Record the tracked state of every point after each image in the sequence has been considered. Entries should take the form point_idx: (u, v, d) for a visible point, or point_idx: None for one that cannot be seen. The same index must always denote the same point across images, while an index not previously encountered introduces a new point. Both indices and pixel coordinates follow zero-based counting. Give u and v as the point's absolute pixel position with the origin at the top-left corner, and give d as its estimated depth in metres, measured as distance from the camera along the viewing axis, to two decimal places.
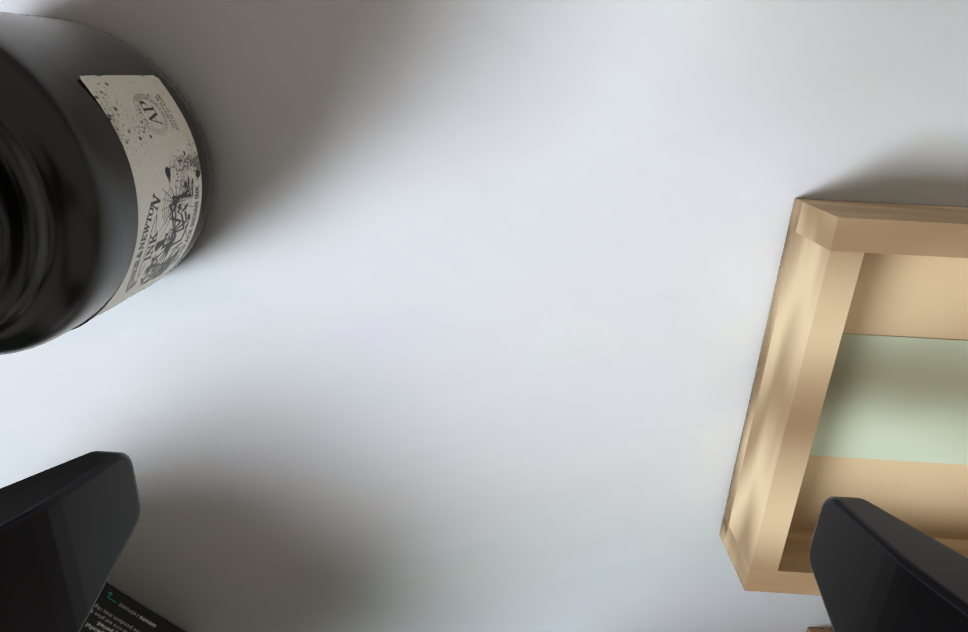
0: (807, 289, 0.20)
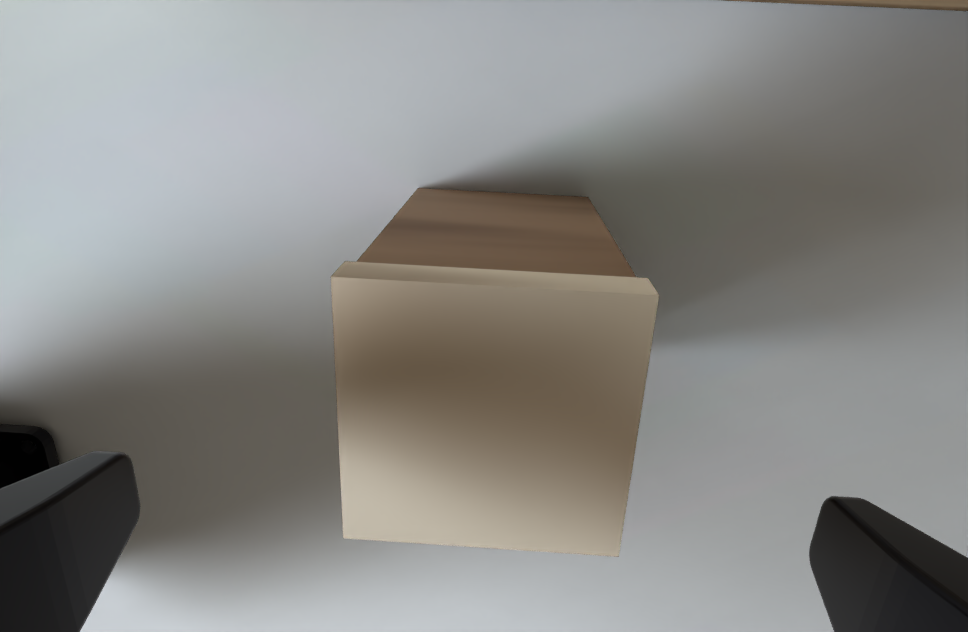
0: None
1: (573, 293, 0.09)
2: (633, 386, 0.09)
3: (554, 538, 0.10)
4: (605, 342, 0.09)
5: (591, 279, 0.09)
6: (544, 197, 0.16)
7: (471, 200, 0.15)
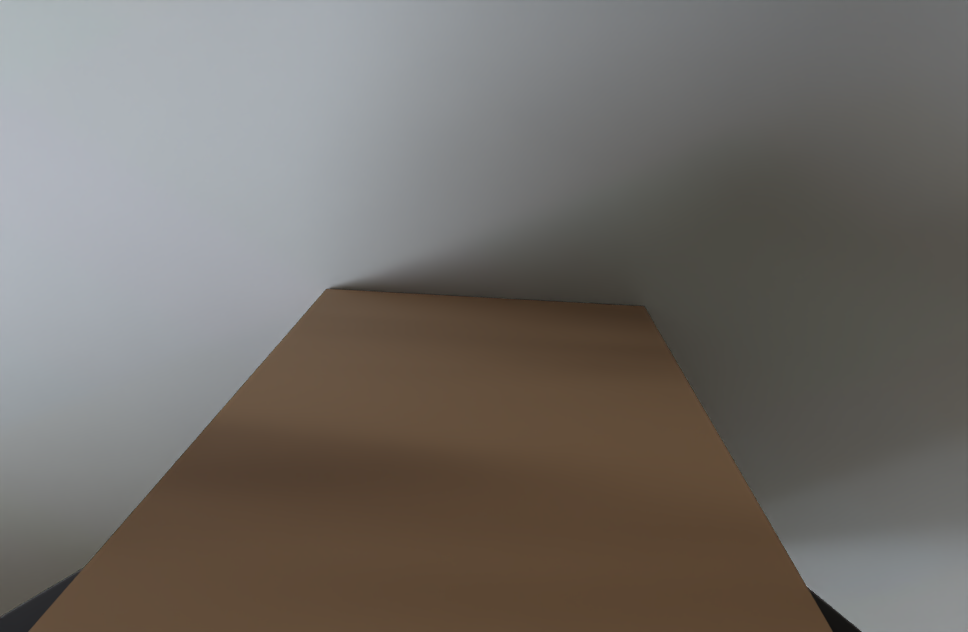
0: None
1: None
2: None
3: None
4: None
5: None
6: (563, 311, 0.08)
7: (419, 329, 0.08)
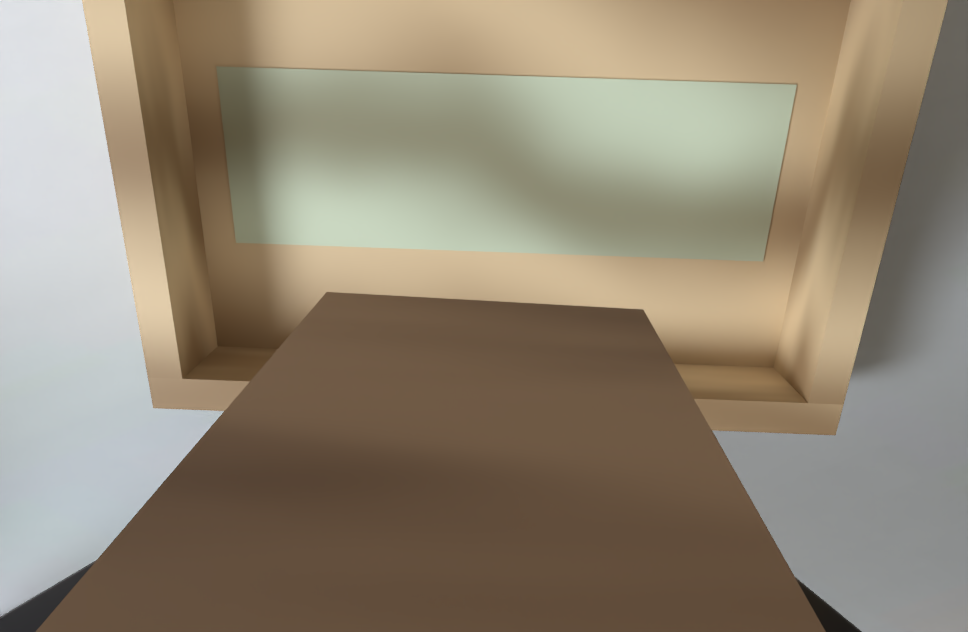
0: None
1: None
2: None
3: None
4: None
5: None
6: (562, 314, 0.08)
7: (418, 332, 0.08)
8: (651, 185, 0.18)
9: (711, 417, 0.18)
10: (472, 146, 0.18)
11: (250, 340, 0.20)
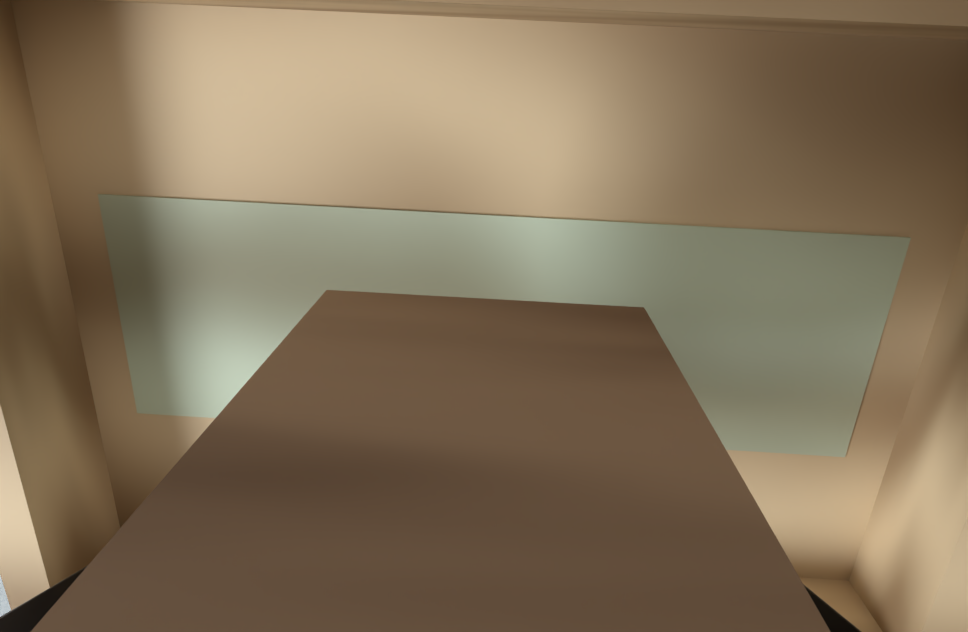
0: None
1: None
2: None
3: None
4: None
5: None
6: (563, 312, 0.08)
7: (419, 330, 0.08)
8: (698, 358, 0.13)
9: None
10: None
11: None
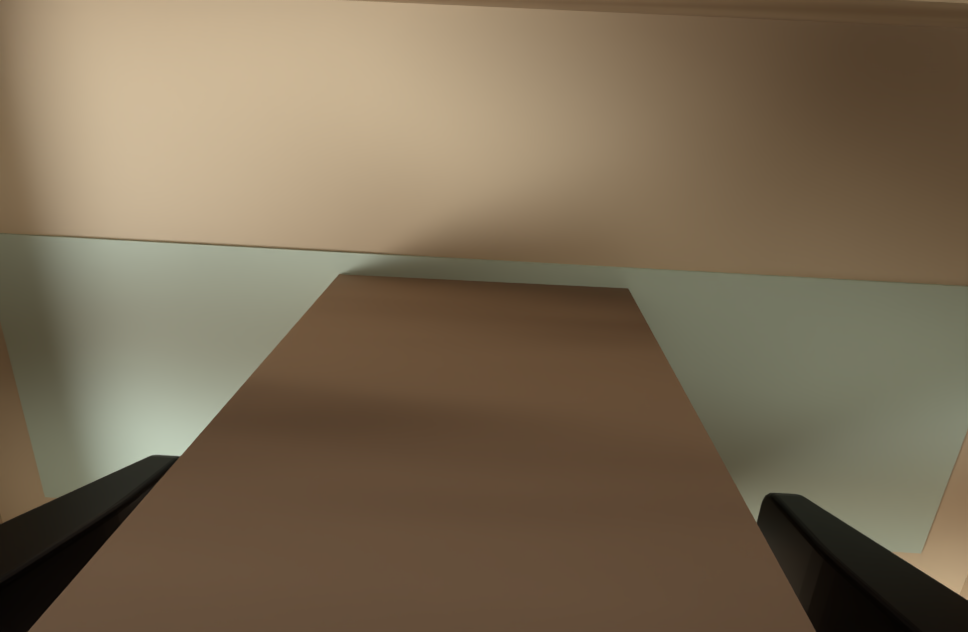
0: None
1: None
2: None
3: None
4: None
5: None
6: (554, 292, 0.09)
7: (423, 308, 0.08)
8: (740, 435, 0.11)
9: None
10: None
11: None
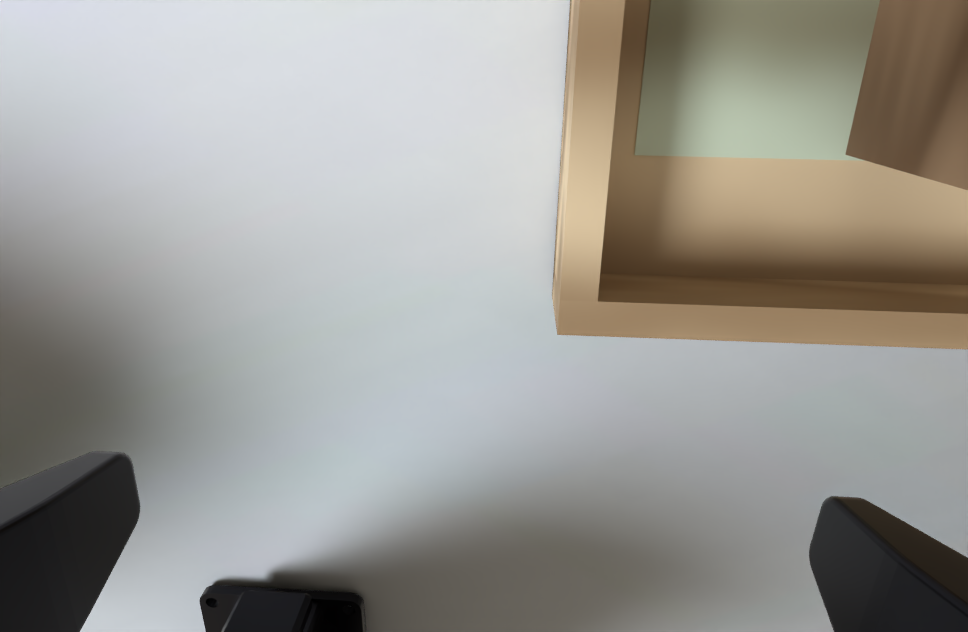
0: None
1: None
2: None
3: None
4: None
5: None
6: None
7: None
8: None
9: None
10: None
11: (626, 266, 0.19)
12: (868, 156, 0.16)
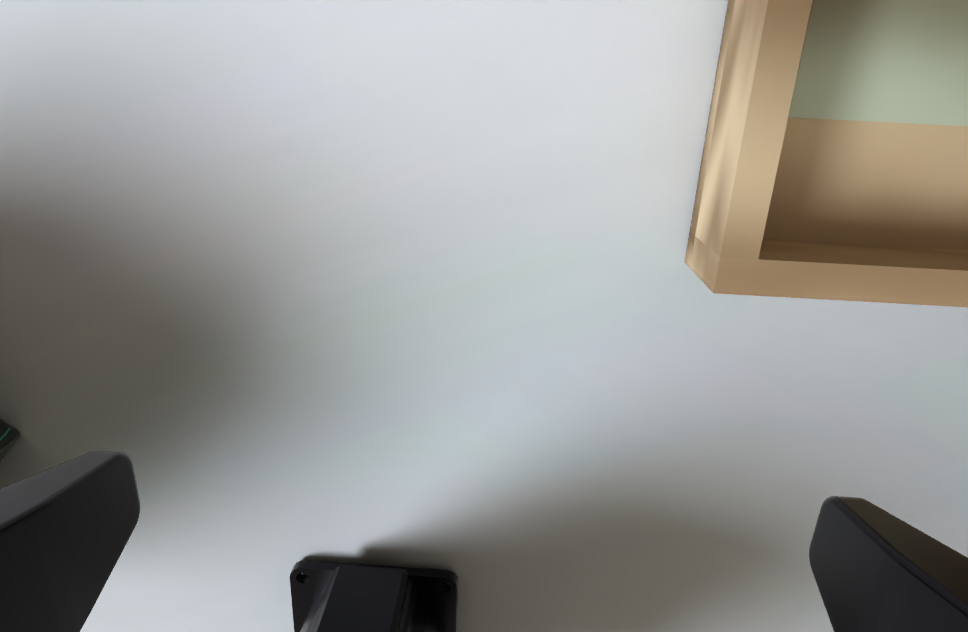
0: None
1: None
2: None
3: None
4: None
5: None
6: None
7: None
8: None
9: None
10: None
11: (767, 231, 0.19)
12: None
